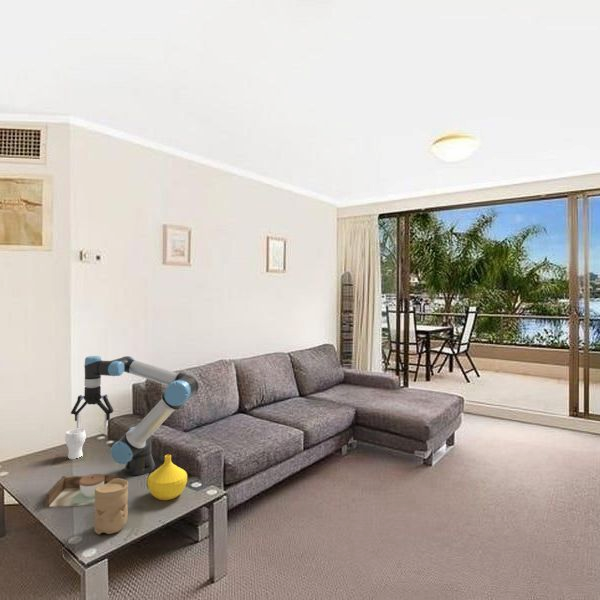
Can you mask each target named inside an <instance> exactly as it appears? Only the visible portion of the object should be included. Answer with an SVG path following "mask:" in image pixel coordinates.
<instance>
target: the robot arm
mask: <svg viewBox="0 0 600 600" xmlns="http://www.w3.org/2000/svg"><path fill="white" fill-rule="evenodd" d="M83 367H84V395H82V394H80V395H78V396H77V401H76V402H75V404H74V406H73V408H72V410H71V412H70V415H74V421H75V422H76V429H80V428H81V413H80V412H81V411H82V410H83V409H84V408H85V407H86V406H87V405H97V406H99V408H100V409H101V410H102V411H103V412H104V413H105V414H104V428H107V427H108V425H109V422H108V421H109V420H110V419H111V417H110V416H111V414H113V413H114V412H115V411H114V408H113V406H112V404H111V402H110V400H109V399H108V394H104V395H102V394H101V389H102V388H101V383H102V381H101V380H102V379H101V377H102V376H108V377H109V376H110V377H119V376H122V375H123V373H124V372H125V373H126V374H131V375H135V376H136V377H137V376H138V377H140V378H144V379H146V380H149V381H152V382H155V383H159V384H161V385H166V388H165V390H164V392H163V393H162V394H161V399H160V400H159V402H157V404H155V405H154V407H152V409H150V411H149V412H148V414H146V416H145V417H144V418H142V420H140V421H139V423H138V424H137V425H136V426H132V427H129V428H128V431H127V432H125V434H124V435H123V436H122V437H121V438H120V439H119V440H117V441H115V443H113V444H112V446H111V448H110V454H111V457H112V460H114V462H116V463H118V464H122V465H124V472H125V474H127V475H129V476H141V475H145V474H148V473H150V472H151V473H152V471H153V470H155V461H154V459H153V455H152V435H153V434H154V433H155V432H156V430H158V428H159V427H160V426H161V425H162V424H163V423H164V422H165V421H166V420H167V419H168V418H169V417H170V416H171V415H172V414H173V413H174V411H180V410H181V408H182V407H183V406H184V405H185V404H186V403H187V402H189V400H190V399H192V398H194V396H196V394H198V392H199V390H200V385H199V381H198V380H197V378H195V377H194V376H192V375H190V374H187V373H183V372H180V371H179V372H174V371H171V370H168V369H165V368H161V367H158V366H154V365H151V364H148V363H145V362H142V361H139V360H136V359H135V358H134V357H133V356H130V355H127V356H122V357H120V358H116V359H112V360H102V358H101V356H100V355H91V356H86V357H85V359H84V365H83ZM101 399H102V400H103V401H101ZM82 400H84V402H83V403H82V405H81V406H80V407H79V405H80V403H81V402H82ZM103 402H104V403H103ZM105 405H106V406H105ZM78 407H79V408H78Z"/></svg>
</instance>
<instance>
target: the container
mask: <svg viewBox="0 0 600 600" xmlns="http://www.w3.org/2000/svg"><path fill="white" fill-rule="evenodd" d="M128 488H129V481H128V480H126V479H124V478H120V477H118V478H116V479H112V480H111V481H110V482H108V483H107V484H104V485H100V486H98V487H96V488H95V505H94V522H93V523H94V532H95V533H96V534H97V535H99V536H100V535H102V533H105V534H106V535H112V534H116V533H118V532H119V531H121V529H123V527H124V526H125V525H126V523H127V522H128V517H129V509H128V508H129V505H128V500H129V490H128Z"/></svg>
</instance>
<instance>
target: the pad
mask: <svg viewBox="0 0 600 600" xmlns="http://www.w3.org/2000/svg"><path fill="white" fill-rule="evenodd" d="M77 503H95V497H93V498H86V497H85V496H84V495H83V494H82V493H81V491H80V492H79V493H78V494H77V495H76V497H75V498H74V499H73V500H72V502H71V503H70V504H77Z"/></svg>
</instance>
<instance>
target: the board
mask: <svg viewBox="0 0 600 600" xmlns="http://www.w3.org/2000/svg"><path fill="white" fill-rule="evenodd" d="M79 492H80V488H66V489H64V490H63V491H62V492H61V493H60V494H59V496H58V497H57V498H56V499H55V500H54V501H53V502H52V503H51V504H50V506H46V505H45V508H57V507H58V508H62V507H77V506H78V507H81V506H95V503H77V504H70V503H71V502H72V500H73V499H74V498H75V497H76V495H77V494H78V493H79Z"/></svg>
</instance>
